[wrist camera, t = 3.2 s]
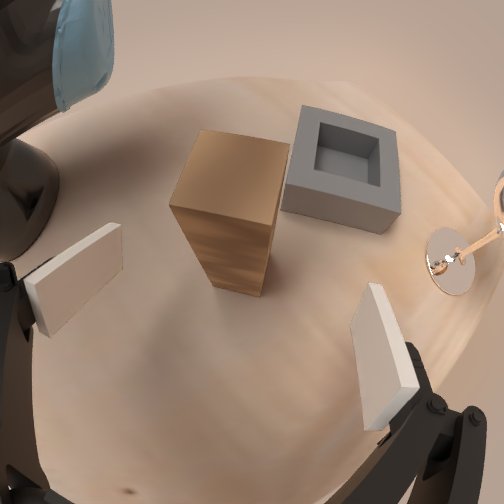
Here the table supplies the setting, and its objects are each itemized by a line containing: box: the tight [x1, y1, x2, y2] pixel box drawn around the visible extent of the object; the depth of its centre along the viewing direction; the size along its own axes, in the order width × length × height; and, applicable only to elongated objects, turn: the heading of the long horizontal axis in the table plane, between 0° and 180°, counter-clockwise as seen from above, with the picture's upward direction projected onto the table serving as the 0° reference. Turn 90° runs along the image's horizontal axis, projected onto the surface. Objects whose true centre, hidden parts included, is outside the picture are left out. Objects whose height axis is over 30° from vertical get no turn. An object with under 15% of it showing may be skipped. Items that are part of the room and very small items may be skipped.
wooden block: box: [169, 130, 290, 297], centre depth 18 cm, size 4×4×14 cm
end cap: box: [281, 105, 401, 234], centre depth 25 cm, size 10×10×4 cm
